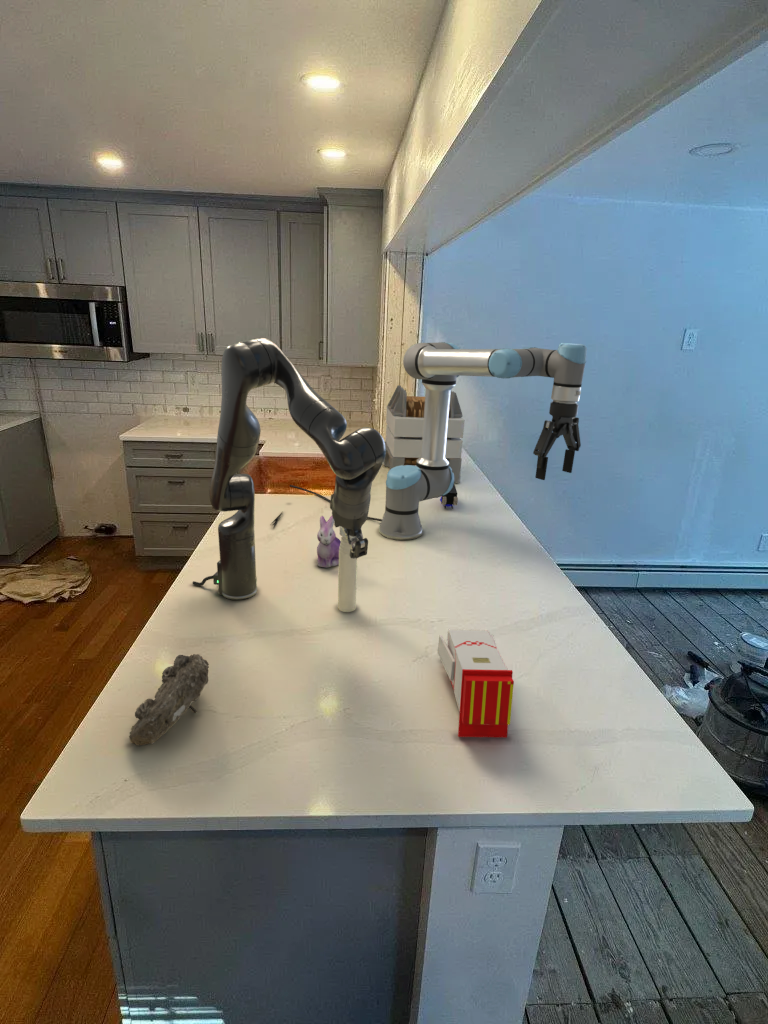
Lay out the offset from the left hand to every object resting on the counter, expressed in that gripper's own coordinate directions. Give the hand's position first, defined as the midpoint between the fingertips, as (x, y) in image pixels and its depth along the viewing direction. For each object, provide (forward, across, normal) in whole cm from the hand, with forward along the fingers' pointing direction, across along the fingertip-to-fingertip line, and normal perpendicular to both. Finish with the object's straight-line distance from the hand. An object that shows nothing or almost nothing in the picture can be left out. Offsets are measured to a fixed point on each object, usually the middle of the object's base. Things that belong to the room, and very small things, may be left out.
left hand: (346, 540), depth 128 cm
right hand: (+16, -4, +68) cm, 70 cm away
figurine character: (+79, -36, +66) cm, 109 cm away
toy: (+5, +40, +10) cm, 42 cm away
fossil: (+4, +20, -44) cm, 49 cm away
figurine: (+46, -16, +4) cm, 49 cm away
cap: (+10, -8, +5) cm, 14 cm away
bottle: (+28, +5, -1) cm, 28 cm away
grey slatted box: (+109, -71, +77) cm, 151 cm away
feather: (+72, -53, +1) cm, 89 cm away
